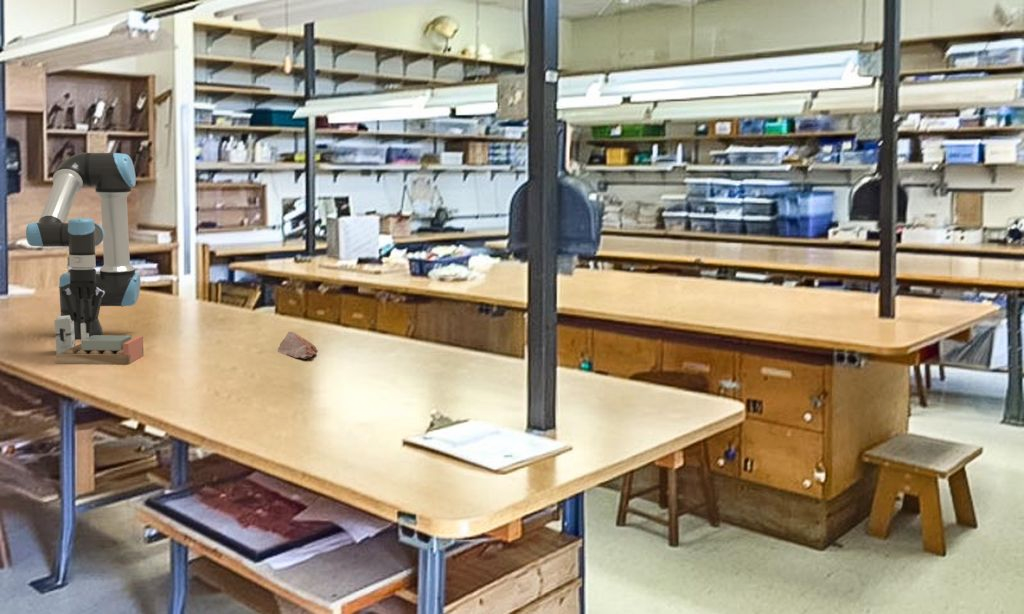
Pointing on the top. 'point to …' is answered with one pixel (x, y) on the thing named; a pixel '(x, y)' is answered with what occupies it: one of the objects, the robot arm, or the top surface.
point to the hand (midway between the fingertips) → (85, 343)
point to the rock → (297, 346)
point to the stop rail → (133, 348)
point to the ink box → (64, 333)
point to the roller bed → (92, 356)
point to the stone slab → (104, 342)
